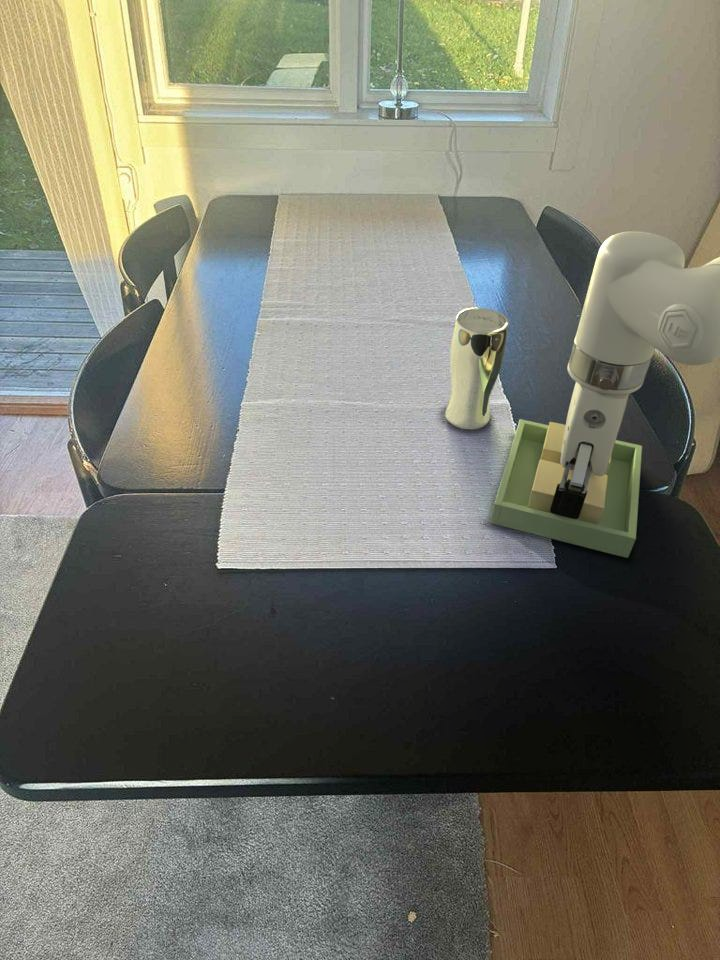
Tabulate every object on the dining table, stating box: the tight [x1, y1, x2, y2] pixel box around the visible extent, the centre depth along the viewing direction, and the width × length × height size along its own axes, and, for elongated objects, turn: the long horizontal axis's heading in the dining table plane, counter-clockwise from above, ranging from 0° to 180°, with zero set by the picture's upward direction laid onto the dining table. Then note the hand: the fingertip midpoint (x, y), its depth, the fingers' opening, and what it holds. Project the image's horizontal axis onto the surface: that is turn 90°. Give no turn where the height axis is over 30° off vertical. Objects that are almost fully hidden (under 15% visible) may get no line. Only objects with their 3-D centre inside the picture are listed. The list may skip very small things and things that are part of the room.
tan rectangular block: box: [528, 460, 608, 525], centre depth 82 cm, size 8×6×4 cm
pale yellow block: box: [540, 421, 612, 475], centre depth 88 cm, size 8×6×4 cm
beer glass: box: [444, 307, 510, 430], centre depth 93 cm, size 7×7×15 cm
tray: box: [490, 418, 643, 559], centre depth 85 cm, size 16×18×3 cm
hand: (568, 492), depth 82 cm, fingers open, 7 cm apart
